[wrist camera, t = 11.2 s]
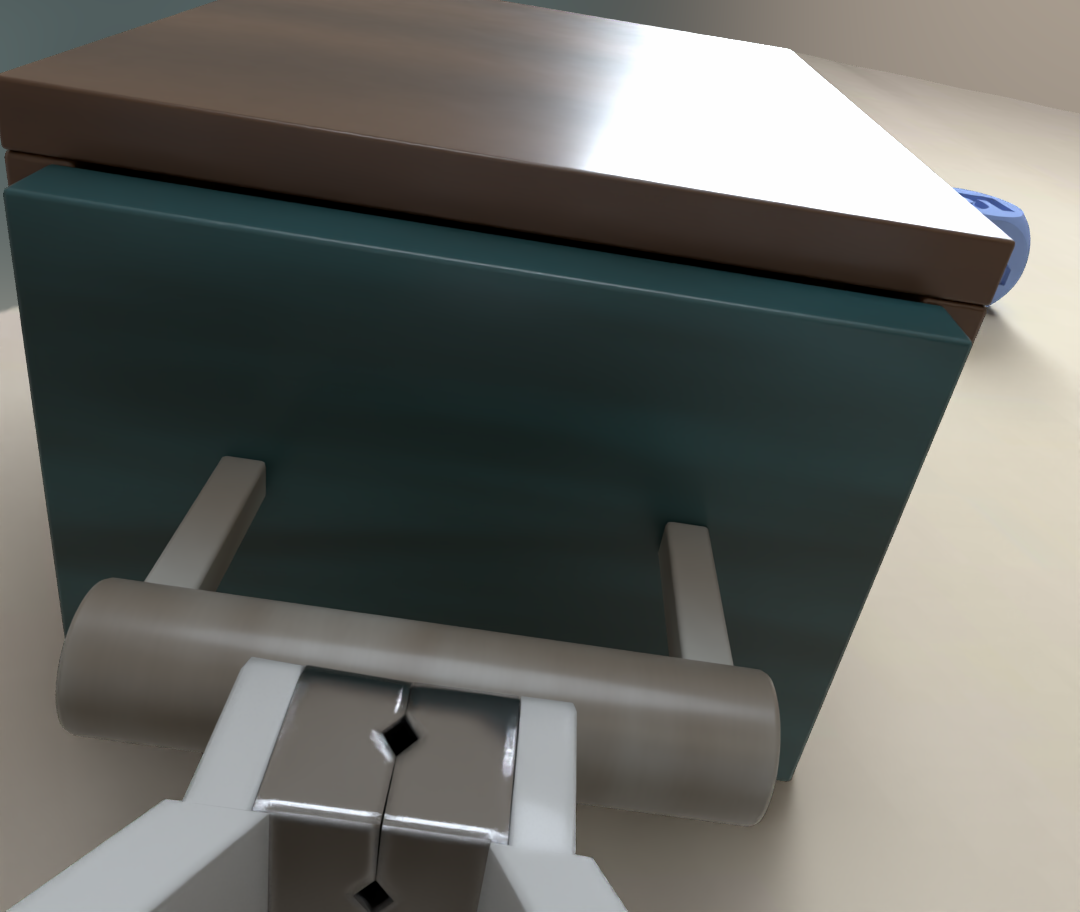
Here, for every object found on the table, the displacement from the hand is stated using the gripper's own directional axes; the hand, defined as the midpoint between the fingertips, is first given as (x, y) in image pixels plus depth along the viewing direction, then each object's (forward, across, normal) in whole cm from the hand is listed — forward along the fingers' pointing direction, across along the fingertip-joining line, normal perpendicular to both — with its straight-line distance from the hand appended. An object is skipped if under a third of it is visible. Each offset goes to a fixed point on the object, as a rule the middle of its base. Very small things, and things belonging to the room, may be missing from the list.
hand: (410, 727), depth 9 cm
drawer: (+10, 0, +5) cm, 11 cm away
